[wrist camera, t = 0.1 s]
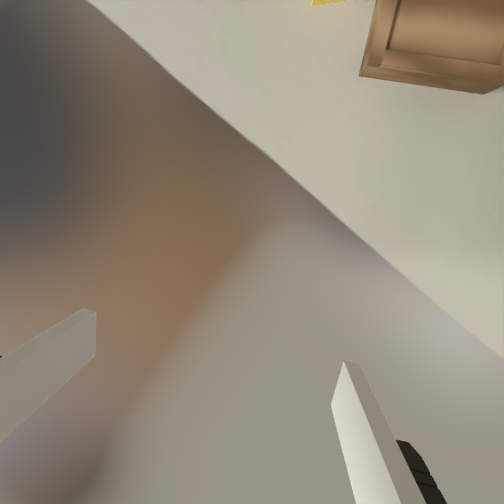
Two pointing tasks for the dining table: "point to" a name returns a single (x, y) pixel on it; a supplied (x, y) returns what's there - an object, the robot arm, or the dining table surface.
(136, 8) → the dining table surface
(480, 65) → the walnut tray
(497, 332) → the dining table surface
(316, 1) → the mustard cube
